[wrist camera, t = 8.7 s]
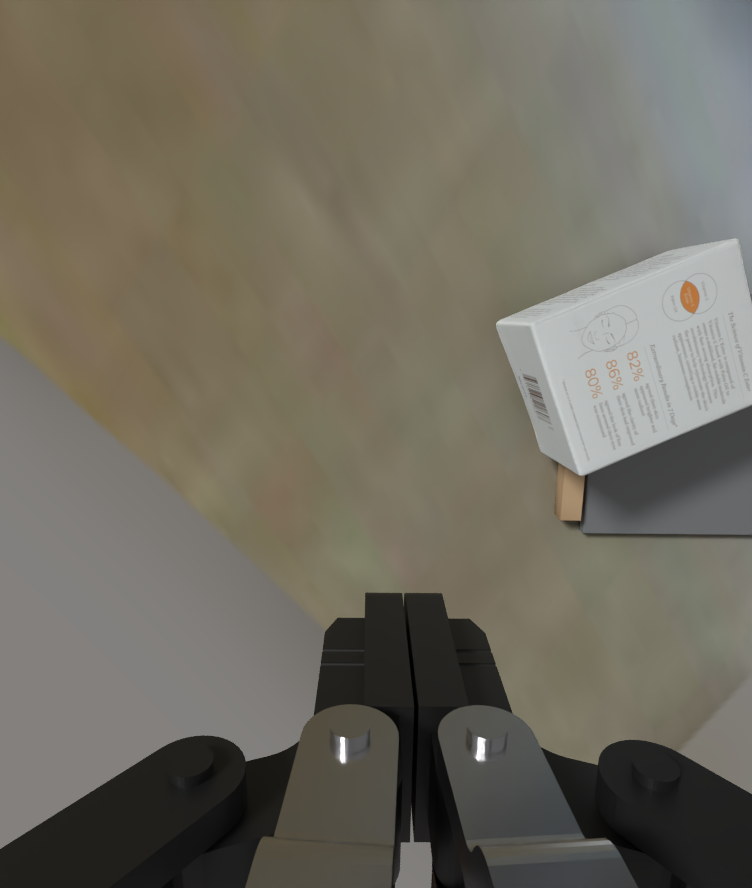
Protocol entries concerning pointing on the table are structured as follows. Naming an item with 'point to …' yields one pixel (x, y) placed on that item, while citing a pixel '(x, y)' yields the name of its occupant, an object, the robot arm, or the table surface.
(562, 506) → the oak ledge
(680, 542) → the table surface
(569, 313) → the small box
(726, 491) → the rubber mat
